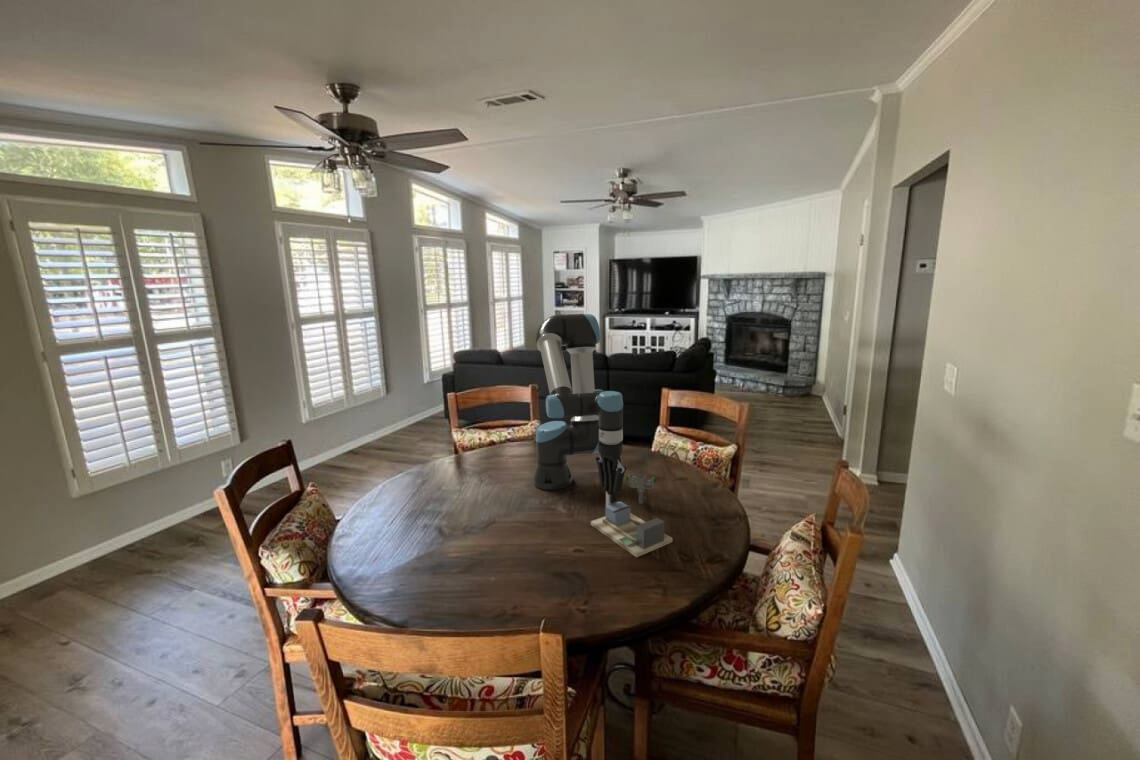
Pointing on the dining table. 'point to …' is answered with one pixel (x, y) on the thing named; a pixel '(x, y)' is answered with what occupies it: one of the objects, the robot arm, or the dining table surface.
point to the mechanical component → (640, 484)
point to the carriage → (617, 513)
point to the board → (627, 534)
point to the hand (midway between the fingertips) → (610, 510)
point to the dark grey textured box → (650, 533)
